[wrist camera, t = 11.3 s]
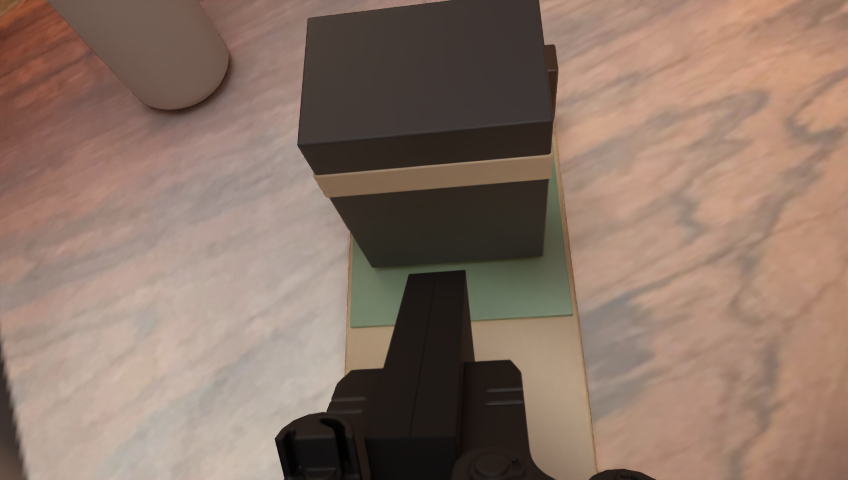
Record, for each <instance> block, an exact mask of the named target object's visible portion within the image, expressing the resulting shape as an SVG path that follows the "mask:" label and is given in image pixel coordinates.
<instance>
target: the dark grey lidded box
mask: <svg viewBox="0 0 848 480" xmlns="http://www.w3.org/2000/svg"><path fill="white" fill-rule="evenodd" d="M553 122H554V119H553V111H552V102H551V94H550V86H549V78H548V70H547V62H546V54H545V46H544V38H543V30H542V22H541V13H540V5H539V0H450V1H442V2H434V3H426V4H417V5H409V6H401V7H393V8H385V9H377V10H369V11H361V12H353V13H345V14H337V15H329V16H320V17H312V18H308V22H307V35H306V47H305V59H304V71H303V83H302V95H301V108H300V120H299V132H298V144H297V145H298V147H299V149H300V151H301V152H302V154H303V155H304V157H305V159H306V160H307V162H308V164H309V165H310V167H311V169H312V170H313V172H314V178H315V180H316V181H317V183H318V185H319V186H320V188H321V189H322V191H323V193H324V194H325V196H326V197H329V198H330V200H331V201H332V203H333V205H334V206H335V208H336V210H337V211H338V213H339V214H340V216H341V218H342V219H343V221H344V223H345V224H346V226H347V228H348V229H349V231H350V232H351V234H352V236H353V237H354V239H355V241H356V242H357V244H358V246H359V247H360V249H361V251H362V252H363V254H364V255H365V257H366V259H367V260H368V262H369V264H370V265H371V267H372V268H376V267H390V266H405V265H419V264H433V263H448V262H462V261H477V260H491V259H506V258H520V257H534V256H542V255H543V248H544V235H545V222H546V210H547V197H548V185H549V178H551V174H552V163H553V149H552V135H553Z"/></svg>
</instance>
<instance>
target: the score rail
mask: <svg viewBox="0 0 848 480" xmlns="http://www.w3.org/2000/svg"><path fill="white" fill-rule="evenodd" d="M544 46H545V54H546V62H547V70H548V78H549V86H550V94H551V102H552V111H553V119H555V106H556V94H557V82H558V63H557V56H556V48H555V45H553V44H552V45H544ZM552 149H553V163H552V174H551V178H549V185H548V197H547V210H546V222H545V235H544V248H543V255H542V256H534V257H520V258H506V259H491V260H477V261H462V262H448V263H433V264H419V265H405V266H390V267H376V268H372V267H371V265H370V264H369V262H368V260H367V259H366V257H365V255H364V254H363V252H362V251H361V249H360V247H359V246H358V244H357V242H356V241H355V239H354V237H353V236H352V234H351V232H350V248H349V274H348V301H347V327H346V353H345V376H346V375H347V374H348V373H349V372H350V371H351V370H357V369H375V368H383V367H384V363H385V359H386V356H387V352H388V348H389V345H390V341H391V337H392V334H393V330H394V326H395V323H396V319H397V315H398V312H399V308H400V304H401V301H402V297H403V293H404V290H405V286H406V282H407V279H408V275H409V274H415V273H428V272H442V271H455V270H466V279H467V289H468V299H469V308H470V318H471V327H472V337H473V347H474V356H475V361H491V360H509V359H510V360H511V361H512V362H513V363H514V364H515V365H516V367H517V368H518V369H519V370H520V371H521V373H522V382H523V391H524V401H525V410H526V419H527V428H528V438H529V447H530V453H531V456H532V460H533V461H534V462H535V464H536V465H537V467H538V468H539V469H540V470H542V471H543V472H544V473H545V474H547V475H549V476H550V477H552V478H554V479H556V480H589V479H590V478H591V477H592V476H593V475H595V474H598V470H597V462H596V453H595V445H594V437H593V429H592V421H591V413H590V405H589V397H588V389H587V381H586V373H585V365H584V357H583V349H582V341H581V333H580V324H579V316H578V308H577V300H576V292H575V284H574V276H573V268H572V260H571V252H570V244H569V236H568V228H567V220H566V212H565V204H564V196H563V187H562V179H561V171H560V163H559V155H558V147H557V139H556V131H555V123H554V122H553V135H552Z"/></svg>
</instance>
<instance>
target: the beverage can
mask: <svg viewBox="0 0 848 480" xmlns="http://www.w3.org/2000/svg"><path fill="white" fill-rule="evenodd" d="M47 2H48V3H49V4H50V5H51V6H52V7H53V8H54V9H55V10H56V11H57V12H58V13H59V14H60V15H61V17H62V18H63V19H64V20H65V21H66V22H67V23H68V24H69V25H70V26H71V27H72V28H73V29H74V31H75V32H76V33H77V34H78V35H79V36H80V37H81V38H82V39H83V40H84V41H85V42H86V43H87V45H88V46H89V47H90V48H91V49H92V50H93V51H94V52H95V53H96V54H97V55H98V56H99V57H100V59H101V60H102V61H103V62H104V63H105V64H106V65H107V66H108V67H109V68H110V69H111V70H112V71H113V73H114V74H115V75H116V76H117V77H118V78H119V79H120V80H121V81H122V82H123V83H124V84H125V85H126V87H127V88H128V89H129V90H130V91H131V92H132V93H133V94H134V95H135V96H136V97H137V98H138V99H139V100H140V101H141V102H142V103H144V104H146V105H149V106H151V107H153V108H159V109H167V110H173V109H182V108H186V107H190V106H193V105H195V104H197V103H199V102H201V101H203V100H204V99H206V98H207V97H208V96H209V95H211V94H212V93H213V92H214V91H215V90H216V89H217V87H218V86H219V85H220V83H221V82H222V80H223V77H224V75H225V73H226V70H227V67H228V59H229V54H228V50H227V47H226V44H225V42H224V41H223V39H222V38H221V36H220V34H219V33H218V31H217V30H216V28H215V27H214V25H213V23H212V22H211V20H210V19H209V17H208V16H207V14H206V12H205V11H204V9H203V8H202V6H201V4H200V3H199V1H198V0H47Z"/></svg>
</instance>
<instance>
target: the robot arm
mask: <svg viewBox="0 0 848 480" xmlns="http://www.w3.org/2000/svg"><path fill="white" fill-rule="evenodd" d="M275 442H276V446H277V450H278V454H279V458H280V462H281V466H282V470H283V474H284V478H285V479H284V480H556V479H554V478H552V477H550V476H549V475H547V474H545V473H544V472H543V471H542V470H540V469H539V468H538V467H537V465H536V464H535V462H534V461H533V460H532V456H531V453H530V447H529V438H528V428H527V419H526V410H525V401H524V391H523V382H522V373H521V371H520V370H519V369H518V368H517V367H516V365H515V364H514V363H513V362H512V361H511V360H510V359H509V360H491V361H475V356H474V347H473V337H472V327H471V318H470V308H469V299H468V289H467V279H466V270H455V271H442V272H428V273H415V274H409V275H408V279H407V282H406V286H405V290H404V293H403V297H402V301H401V304H400V308H399V312H398V315H397V319H396V323H395V326H394V330H393V334H392V337H391V341H390V345H389V348H388V352H387V356H386V359H385V363H384V367H383V368H375V369H357V370H351V371H350V372H349V373H348V374H347V375H346V376H345V377H343V378H342V379H341V380H340V381H339V382H338V383H337V385H336V388H335V391H334V393H333V396H332V399H331V402H330V404H329V406H328V409H327V412H321V413H315V414H309V415H306V416H304V417H301V418H299V419H296V420H294V421H292V422H291V423H290V424H288V425H287V426H285V427H284V428H283V429H282V430H281V431H280V432H279V434H278V435H277V436H276V438H275ZM589 480H655V479H653V478H651V477H649V476H647V475H645V474H643V473H641V472H637V471H632V470H627V469H614V470H606V471H603V472H600V473H598V474H595V475H593V476H592V477H591V478H590V479H589Z"/></svg>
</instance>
